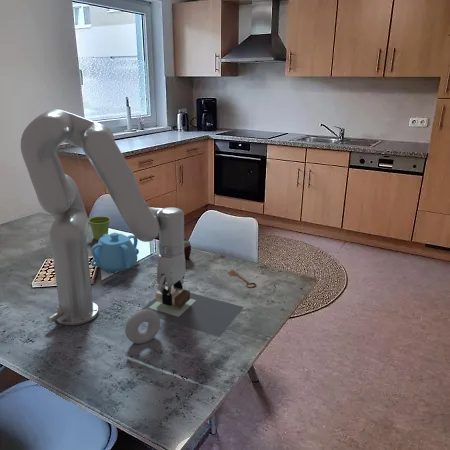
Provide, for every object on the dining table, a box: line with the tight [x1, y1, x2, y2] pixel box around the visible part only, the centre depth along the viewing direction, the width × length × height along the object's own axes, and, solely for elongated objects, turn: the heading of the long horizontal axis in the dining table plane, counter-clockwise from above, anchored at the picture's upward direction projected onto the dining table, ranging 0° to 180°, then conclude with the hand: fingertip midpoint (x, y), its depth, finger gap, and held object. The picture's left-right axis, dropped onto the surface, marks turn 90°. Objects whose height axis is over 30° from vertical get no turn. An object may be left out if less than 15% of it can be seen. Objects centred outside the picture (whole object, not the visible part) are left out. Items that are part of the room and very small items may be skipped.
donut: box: [124, 308, 161, 345], centre depth 112 cm, size 10×4×10 cm, turn 124°
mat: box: [140, 292, 245, 338], centre depth 129 cm, size 18×28×1 cm, turn 65°
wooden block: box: [155, 285, 191, 308], centre depth 130 cm, size 9×6×3 cm
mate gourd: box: [184, 238, 192, 261], centre depth 163 cm, size 8×8×15 cm
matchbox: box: [167, 372, 189, 381], centre depth 100 cm, size 5×5×1 cm
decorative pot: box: [90, 232, 140, 275], centre depth 154 cm, size 16×16×14 cm
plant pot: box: [88, 215, 111, 241], centre depth 182 cm, size 9×9×9 cm
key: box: [226, 269, 257, 289], centre depth 150 cm, size 6×1×15 cm
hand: (172, 299), depth 131 cm, fingers closed on wooden block, 5 cm apart
